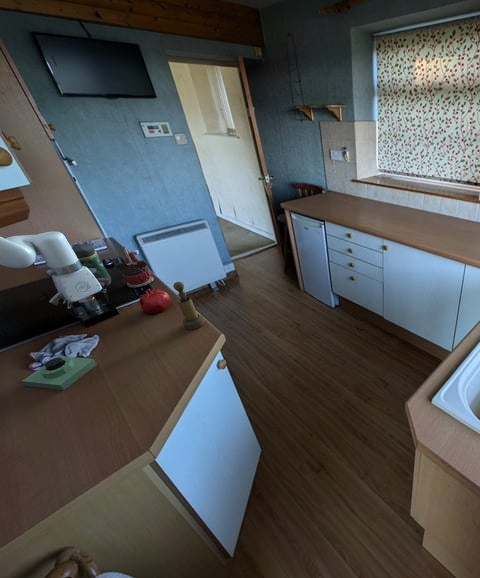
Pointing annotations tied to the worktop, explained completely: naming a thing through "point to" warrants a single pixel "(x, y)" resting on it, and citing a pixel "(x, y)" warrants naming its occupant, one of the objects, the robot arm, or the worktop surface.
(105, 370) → the worktop surface
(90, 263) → the coffee jar
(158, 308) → the pomegranate
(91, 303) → the knob
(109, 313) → the panel
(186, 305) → the mortar and pestle
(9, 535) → the worktop surface
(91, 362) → the button box
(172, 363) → the worktop surface
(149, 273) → the cake
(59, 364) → the button
